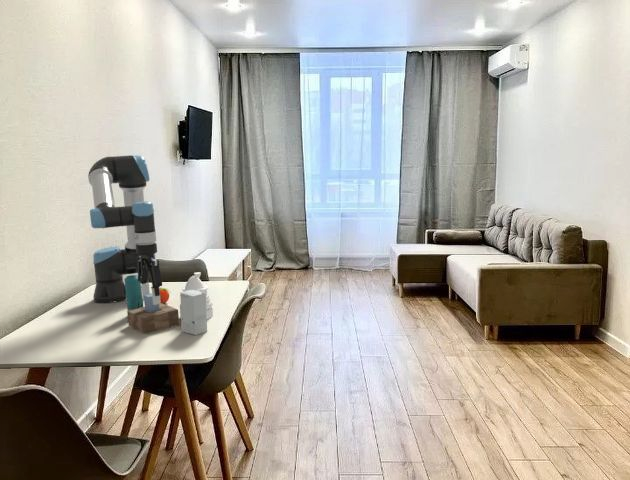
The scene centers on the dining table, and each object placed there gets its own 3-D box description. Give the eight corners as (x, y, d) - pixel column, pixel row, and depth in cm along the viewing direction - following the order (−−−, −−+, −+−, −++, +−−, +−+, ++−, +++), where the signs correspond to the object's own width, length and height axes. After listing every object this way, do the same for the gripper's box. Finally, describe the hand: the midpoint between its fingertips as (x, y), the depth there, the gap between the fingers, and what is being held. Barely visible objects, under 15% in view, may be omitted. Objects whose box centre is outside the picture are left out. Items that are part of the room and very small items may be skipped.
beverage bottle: (139, 318, 226) (134, 269, 223) (124, 317, 228) (119, 269, 224) (147, 313, 233) (142, 265, 229) (132, 313, 234) (128, 265, 231)
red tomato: (174, 301, 249) (173, 285, 248) (169, 305, 243) (167, 289, 241) (157, 301, 250) (155, 286, 249) (151, 306, 243) (149, 290, 242)
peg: (146, 325, 216) (143, 295, 214) (156, 323, 219) (153, 293, 217) (151, 327, 213) (148, 297, 211) (161, 325, 216) (158, 294, 214)
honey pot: (219, 313, 228) (216, 270, 225) (200, 323, 217) (196, 277, 214) (193, 310, 233) (190, 268, 230) (173, 320, 222) (169, 275, 219)
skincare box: (181, 331, 207) (178, 292, 205) (194, 327, 212) (191, 288, 209) (195, 335, 202) (192, 295, 199) (209, 331, 206) (206, 291, 204)
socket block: (128, 325, 217) (127, 310, 216) (162, 317, 226) (160, 302, 225) (144, 333, 206) (143, 318, 205) (179, 324, 216) (177, 309, 215)
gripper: (124, 241, 216) (130, 299, 220) (149, 247, 201) (155, 309, 204) (143, 239, 221) (148, 295, 225) (168, 244, 206) (173, 304, 209)
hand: (151, 301), depth 215 cm, fingers open, 8 cm apart
